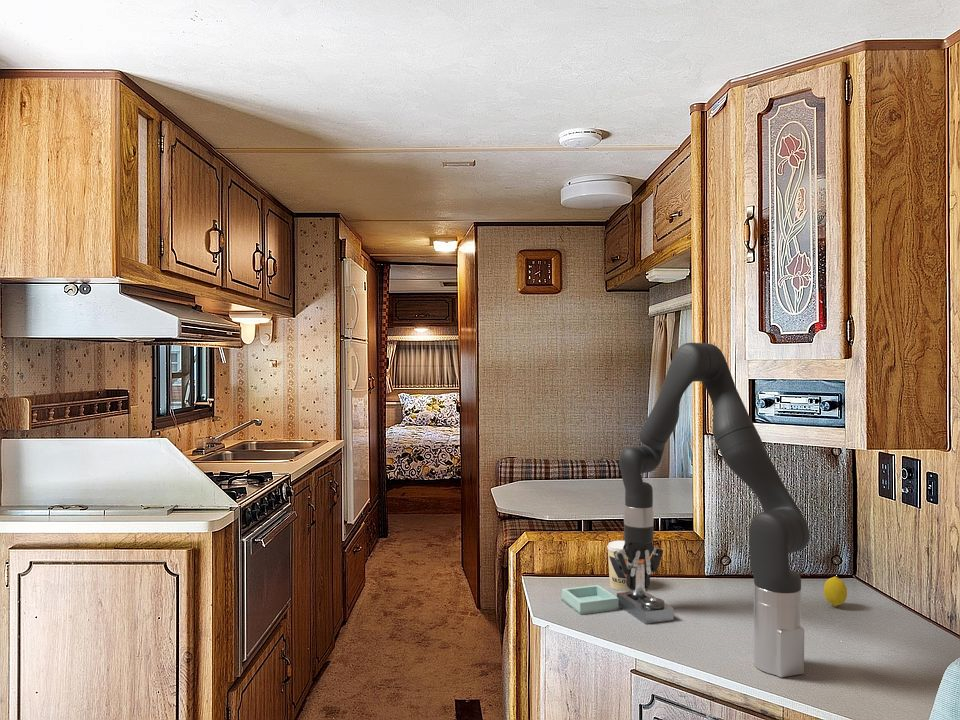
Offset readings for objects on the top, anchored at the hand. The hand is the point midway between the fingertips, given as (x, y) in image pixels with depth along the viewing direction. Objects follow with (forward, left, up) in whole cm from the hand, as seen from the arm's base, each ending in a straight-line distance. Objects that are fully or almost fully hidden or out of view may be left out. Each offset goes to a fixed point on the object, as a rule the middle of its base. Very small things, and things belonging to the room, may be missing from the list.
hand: (638, 588), depth 183 cm
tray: (+6, +11, -5) cm, 14 cm away
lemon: (-15, -50, -5) cm, 52 cm away
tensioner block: (-3, 0, -5) cm, 6 cm away
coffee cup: (+16, -5, -5) cm, 18 cm away
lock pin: (0, 0, -5) cm, 5 cm away
